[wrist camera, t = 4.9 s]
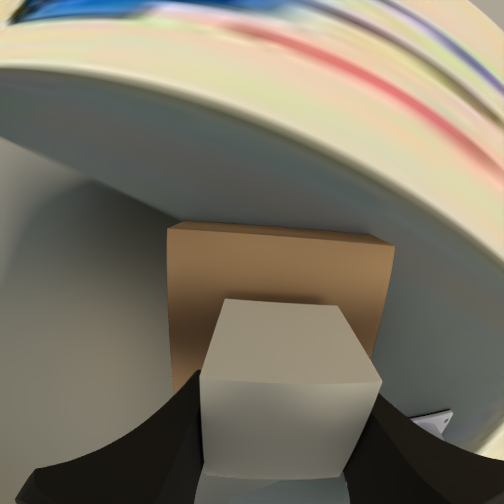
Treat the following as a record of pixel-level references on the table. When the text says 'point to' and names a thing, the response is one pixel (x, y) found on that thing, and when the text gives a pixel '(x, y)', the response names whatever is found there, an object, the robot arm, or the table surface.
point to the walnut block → (268, 279)
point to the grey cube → (283, 392)
